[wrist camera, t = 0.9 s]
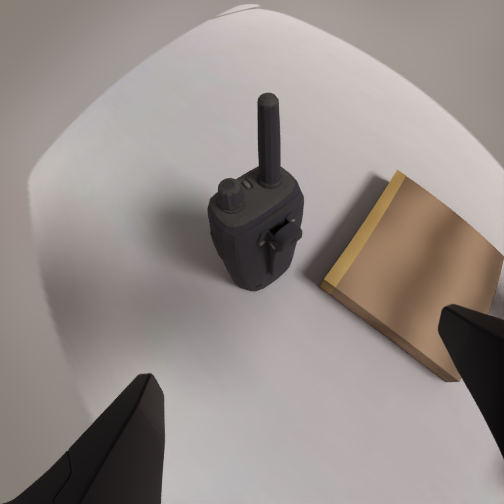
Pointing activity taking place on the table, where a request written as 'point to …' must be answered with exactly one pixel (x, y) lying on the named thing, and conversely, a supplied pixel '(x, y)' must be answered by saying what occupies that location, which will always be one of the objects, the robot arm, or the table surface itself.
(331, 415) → the table surface
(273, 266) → the two-way radio
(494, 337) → the robot arm
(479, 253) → the tan flat wooden block
